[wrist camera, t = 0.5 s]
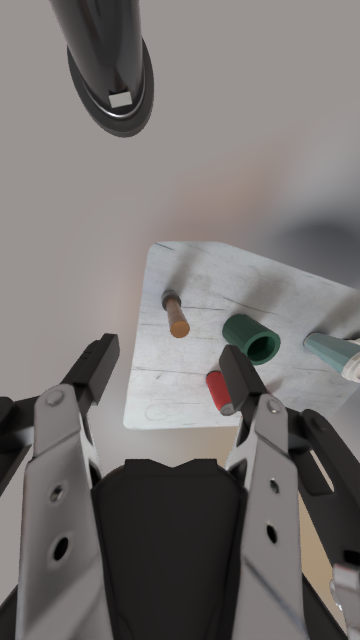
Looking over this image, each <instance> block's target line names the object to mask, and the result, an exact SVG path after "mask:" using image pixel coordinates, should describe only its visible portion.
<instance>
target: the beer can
mask: <svg viewBox="0 0 360 640" xmlns="http://www.w3.org/2000/svg"><path fill="white" fill-rule="evenodd" d="M206 383H207V385H208V388H209V390H210V393H211V395H212V398H213V400H214V403H215V405H216V407H217V409H218V410H219V411H220V413H221V414H222V415H223V416H230V415H233V414H234V413H236V412H237V411H234V408H233V405H232V402H231V399H230V396H229V393H228V390H227V387H226V383H225V380H224V377H223V374H222V373H221V372H218V371H215V372H212V373H210V374H209V375H208V376H207V378H206Z"/></svg>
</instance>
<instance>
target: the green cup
mask: <svg viewBox="0 0 360 640" xmlns="http://www.w3.org/2000/svg"><path fill="white" fill-rule="evenodd" d="M222 333H223V337H224V338H225V339H226V341H227V342H228V343H229V344H230V345H237V346H238V347H239V349H240V351H241V353H244V354H245V355H246V356H247V357H248V358H249V359H250V361H251V363H252V364H253V365H261V364H264V363H266V362H268V361H269V360H271V359H272V358H273V357H274V356H275V355H276V353H277V352H278V350H279V348H280V344H281V342H280V338H279V336H278V334H276V333H275V332H273V331H271V330H270V329H268V328H266V327H265V326H263V325H261V324H260V323H258V322H257V321H255V320H253V319H252V318H250V317H248V316H246V315H243V314H238V315H235V316H232V317H231V318H229V319H228V320H227V321H226V323H225V324H224V326H223V330H222Z"/></svg>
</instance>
